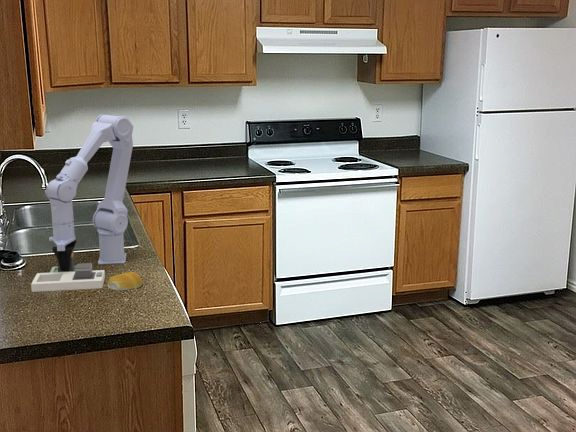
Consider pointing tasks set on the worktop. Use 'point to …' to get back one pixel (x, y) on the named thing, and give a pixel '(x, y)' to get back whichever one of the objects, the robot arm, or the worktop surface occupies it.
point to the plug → (72, 267)
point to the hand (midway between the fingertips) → (66, 268)
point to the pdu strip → (69, 279)
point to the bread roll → (125, 281)
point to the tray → (54, 269)
